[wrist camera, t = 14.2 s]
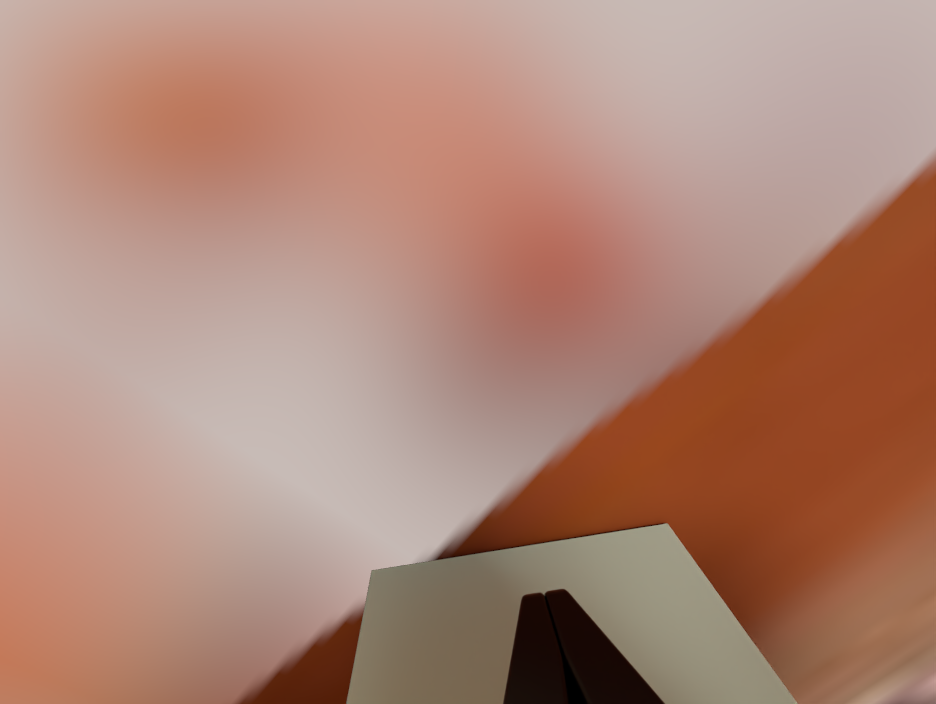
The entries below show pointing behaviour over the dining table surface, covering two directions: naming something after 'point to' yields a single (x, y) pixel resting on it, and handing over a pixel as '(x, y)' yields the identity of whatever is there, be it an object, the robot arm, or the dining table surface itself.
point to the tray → (595, 589)
